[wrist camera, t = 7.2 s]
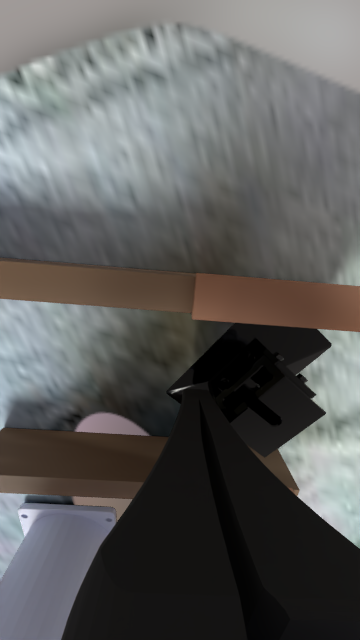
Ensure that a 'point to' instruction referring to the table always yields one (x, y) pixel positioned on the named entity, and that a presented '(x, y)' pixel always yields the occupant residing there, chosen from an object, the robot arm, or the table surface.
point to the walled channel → (149, 294)
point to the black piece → (259, 381)
